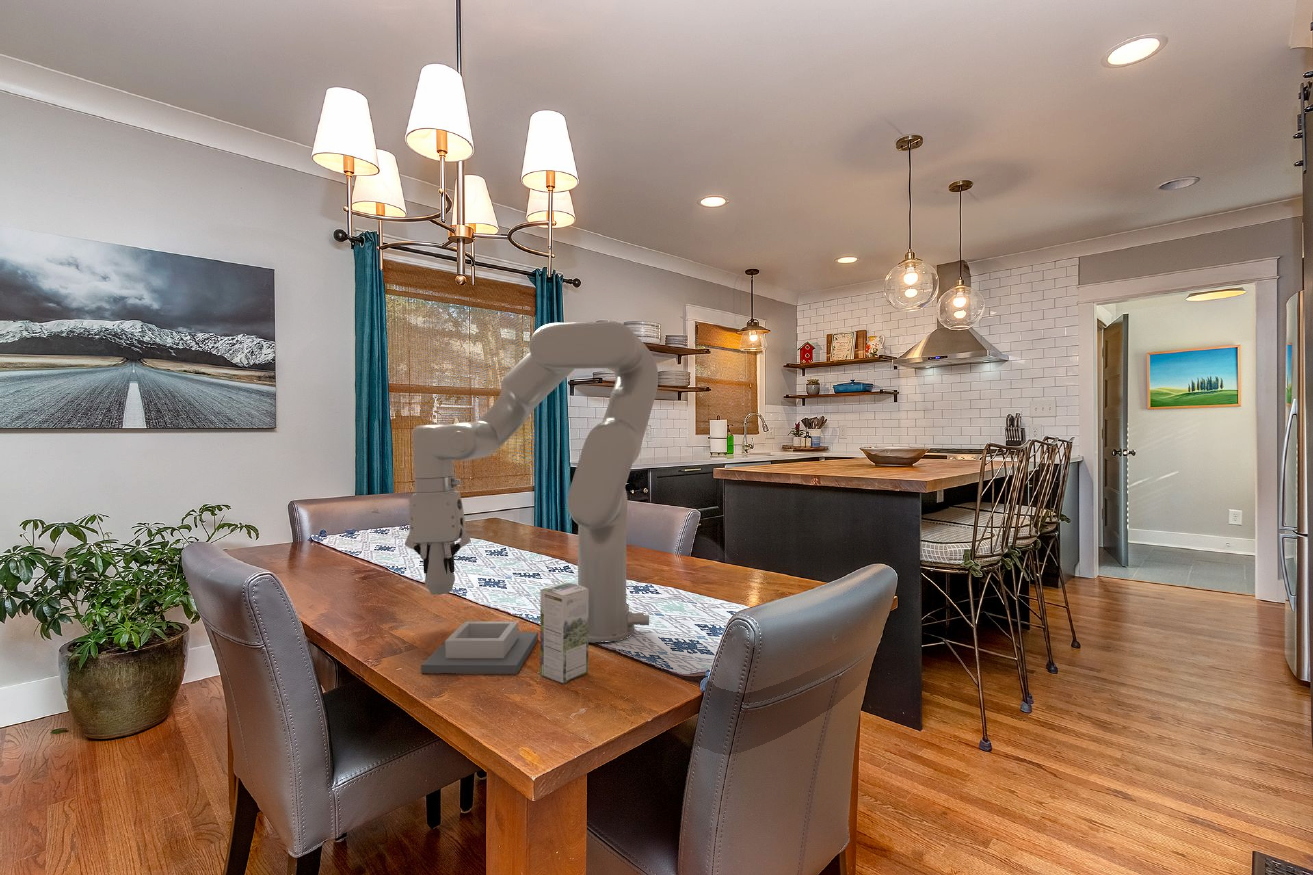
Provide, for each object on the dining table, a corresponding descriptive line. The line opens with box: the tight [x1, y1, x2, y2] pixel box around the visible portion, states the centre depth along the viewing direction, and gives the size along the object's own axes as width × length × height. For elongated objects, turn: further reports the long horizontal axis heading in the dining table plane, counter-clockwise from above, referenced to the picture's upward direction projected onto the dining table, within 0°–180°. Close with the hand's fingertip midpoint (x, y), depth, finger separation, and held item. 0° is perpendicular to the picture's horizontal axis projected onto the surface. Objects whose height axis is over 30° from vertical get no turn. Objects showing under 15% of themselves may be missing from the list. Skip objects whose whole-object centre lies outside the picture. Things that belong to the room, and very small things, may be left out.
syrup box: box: [539, 582, 589, 684], centre depth 101 cm, size 6×6×14 cm
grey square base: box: [420, 620, 539, 675], centre depth 110 cm, size 16×16×4 cm
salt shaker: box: [424, 543, 456, 596], centre depth 124 cm, size 6×6×13 cm
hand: (439, 576), depth 124 cm, fingers closed on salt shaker, 3 cm apart
